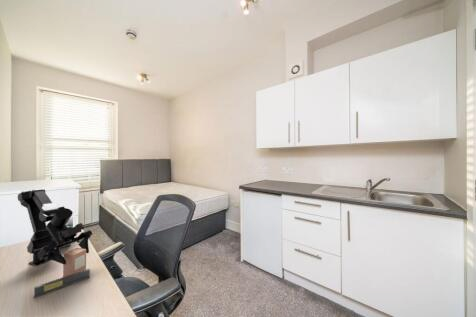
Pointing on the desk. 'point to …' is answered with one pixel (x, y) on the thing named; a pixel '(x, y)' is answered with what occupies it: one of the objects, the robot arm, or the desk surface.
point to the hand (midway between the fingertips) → (77, 258)
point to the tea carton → (74, 261)
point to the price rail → (61, 283)
